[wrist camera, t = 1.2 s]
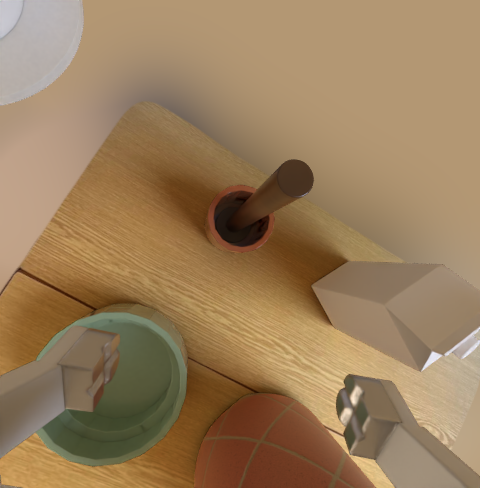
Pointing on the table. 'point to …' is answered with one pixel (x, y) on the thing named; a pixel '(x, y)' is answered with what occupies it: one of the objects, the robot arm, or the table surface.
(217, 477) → the planter
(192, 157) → the table surface
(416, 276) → the milk carton
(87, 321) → the bowl
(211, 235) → the crock
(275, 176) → the stirring stick
